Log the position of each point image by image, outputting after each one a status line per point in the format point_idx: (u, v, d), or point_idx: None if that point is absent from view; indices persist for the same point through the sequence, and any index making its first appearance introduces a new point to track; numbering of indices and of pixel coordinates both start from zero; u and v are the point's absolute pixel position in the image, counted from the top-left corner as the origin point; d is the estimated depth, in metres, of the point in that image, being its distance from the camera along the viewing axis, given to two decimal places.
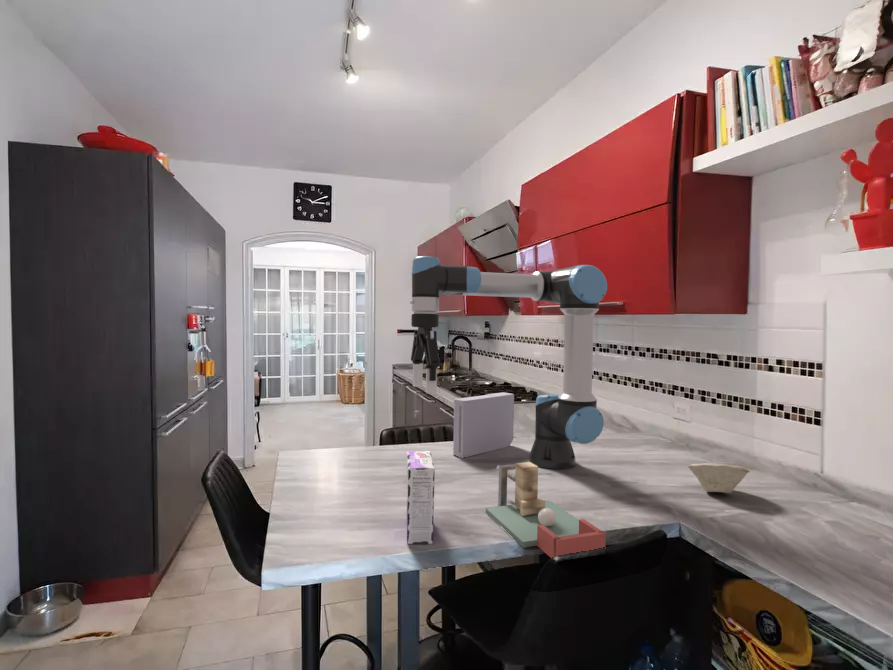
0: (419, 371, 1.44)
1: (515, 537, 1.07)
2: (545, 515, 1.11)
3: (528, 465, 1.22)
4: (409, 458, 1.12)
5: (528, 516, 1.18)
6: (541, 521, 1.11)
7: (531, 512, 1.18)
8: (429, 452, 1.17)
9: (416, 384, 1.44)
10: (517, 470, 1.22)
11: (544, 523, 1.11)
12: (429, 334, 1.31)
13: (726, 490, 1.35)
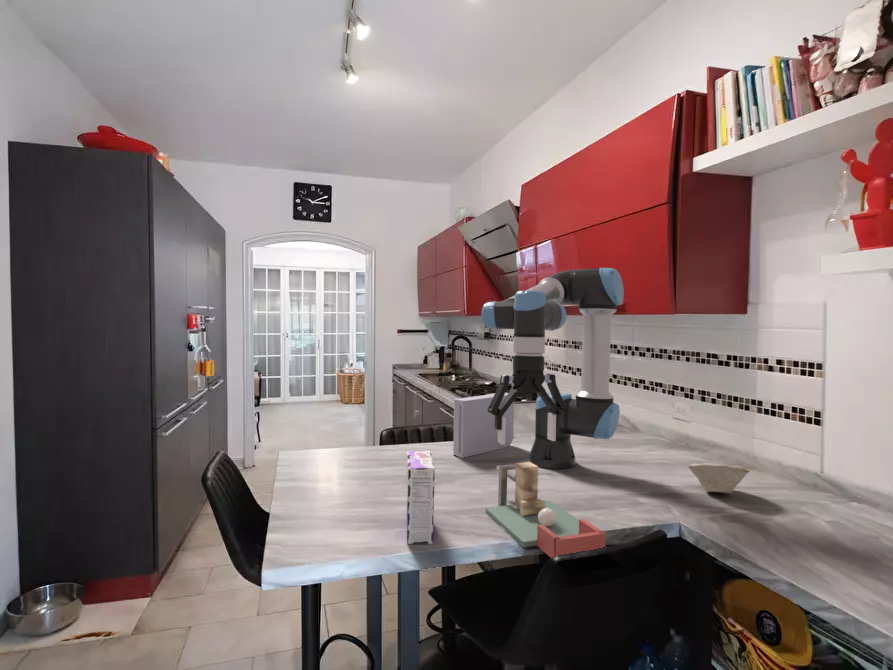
0: (551, 422, 1.23)
1: (515, 537, 1.07)
2: (545, 515, 1.11)
3: (528, 465, 1.22)
4: (409, 458, 1.12)
5: (528, 516, 1.18)
6: (541, 521, 1.11)
7: (531, 512, 1.18)
8: (429, 452, 1.17)
9: (549, 437, 1.24)
10: (517, 470, 1.22)
11: (544, 523, 1.11)
12: (501, 378, 1.19)
13: (726, 490, 1.35)
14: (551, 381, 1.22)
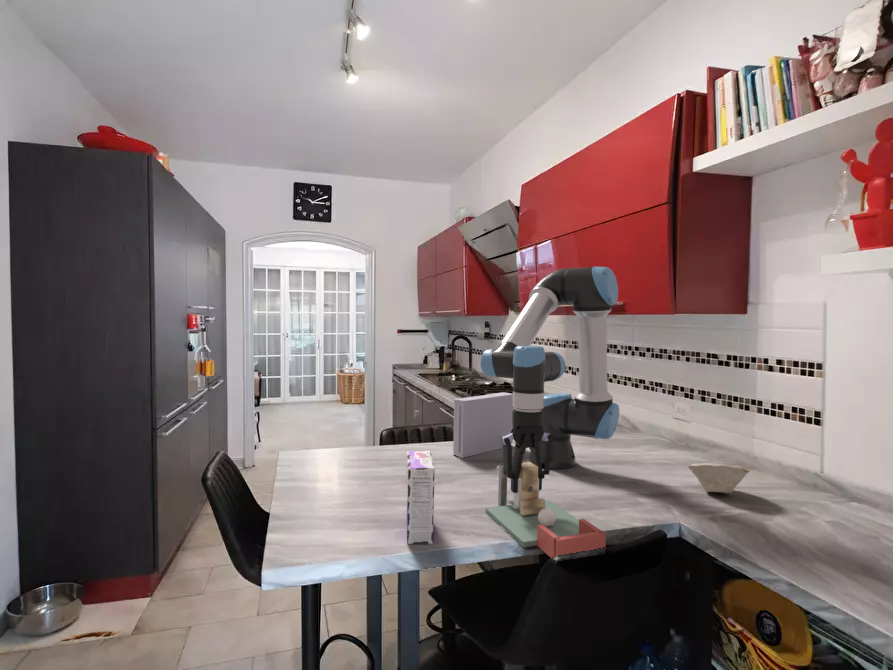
0: None
1: (515, 537, 1.07)
2: (545, 515, 1.11)
3: (528, 465, 1.22)
4: (409, 458, 1.12)
5: (528, 516, 1.18)
6: (541, 521, 1.11)
7: (531, 512, 1.18)
8: (429, 452, 1.17)
9: None
10: None
11: (544, 523, 1.11)
12: (502, 440, 1.20)
13: (726, 490, 1.35)
14: (548, 440, 1.22)
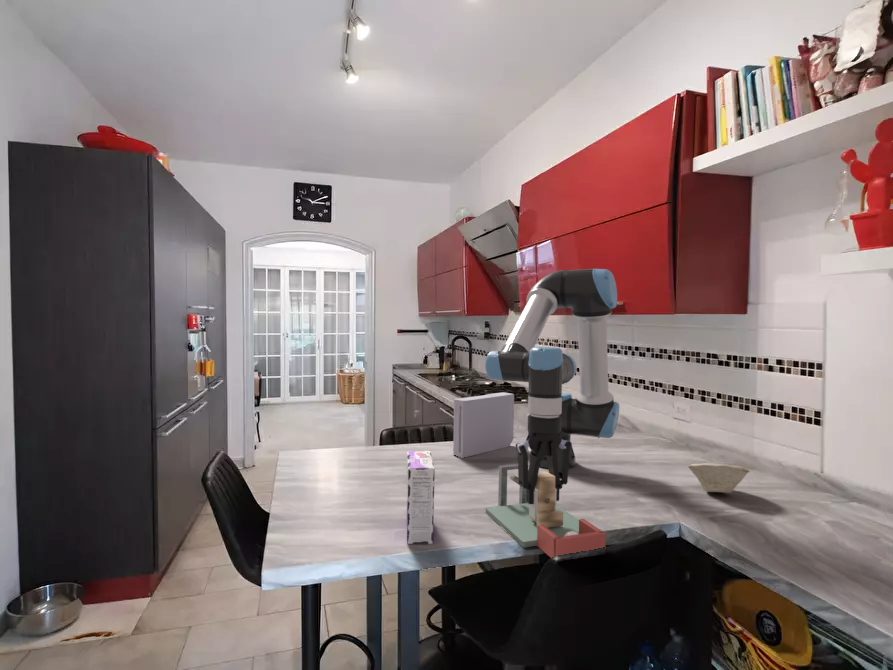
0: None
1: (515, 537, 1.07)
2: (565, 534, 1.03)
3: (544, 474, 1.14)
4: (409, 458, 1.12)
5: (528, 516, 1.18)
6: None
7: (548, 525, 1.10)
8: (429, 452, 1.17)
9: None
10: None
11: None
12: (517, 448, 1.13)
13: (726, 490, 1.35)
14: (565, 448, 1.14)
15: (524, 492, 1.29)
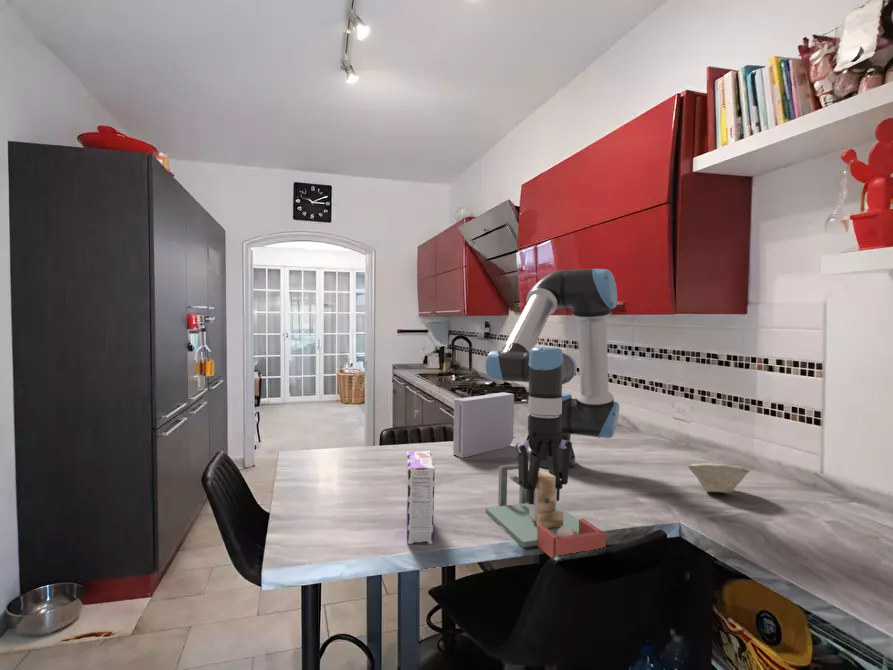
0: None
1: (515, 537, 1.07)
2: None
3: (544, 474, 1.14)
4: (409, 458, 1.12)
5: (528, 516, 1.18)
6: (557, 533, 1.05)
7: (548, 525, 1.10)
8: (429, 452, 1.17)
9: None
10: None
11: (558, 530, 1.05)
12: (517, 448, 1.12)
13: (726, 490, 1.35)
14: (566, 448, 1.14)
15: (524, 492, 1.29)
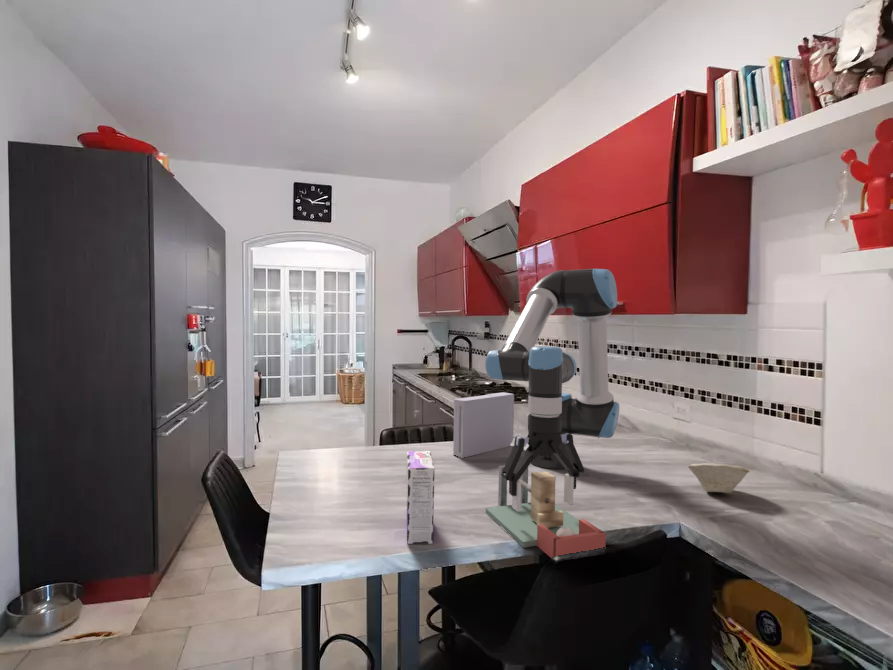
0: (568, 485, 1.16)
1: (515, 537, 1.07)
2: None
3: (544, 474, 1.14)
4: (409, 458, 1.12)
5: (528, 516, 1.18)
6: (557, 533, 1.05)
7: (548, 525, 1.10)
8: (429, 452, 1.17)
9: (566, 500, 1.17)
10: (533, 480, 1.14)
11: (558, 530, 1.05)
12: (515, 440, 1.12)
13: (726, 490, 1.35)
14: (568, 442, 1.15)
15: (524, 492, 1.29)
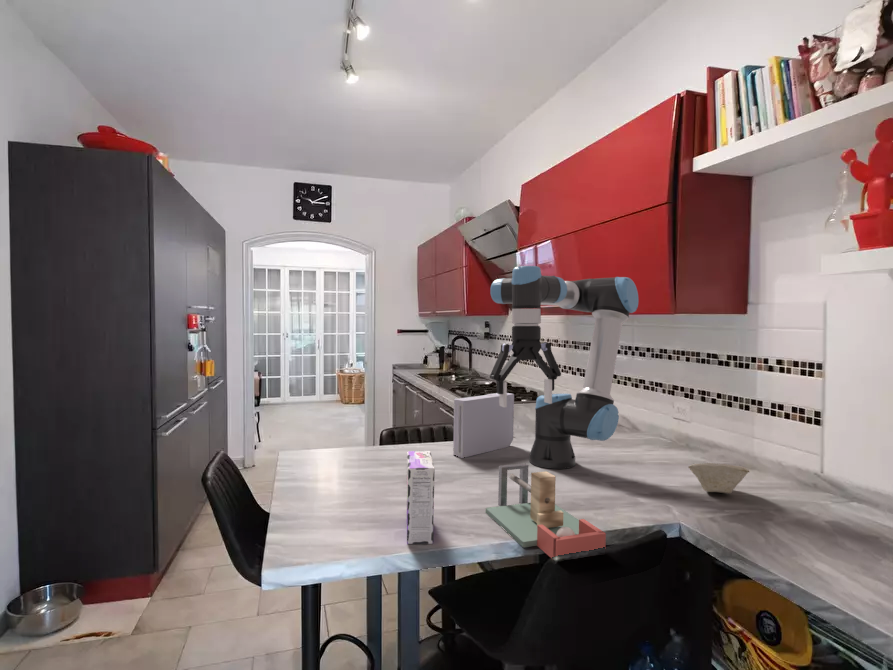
0: (547, 387, 1.34)
1: (515, 537, 1.07)
2: None
3: (544, 474, 1.14)
4: (409, 458, 1.12)
5: (528, 516, 1.18)
6: (557, 533, 1.05)
7: (548, 525, 1.10)
8: (429, 452, 1.17)
9: (545, 400, 1.35)
10: (533, 480, 1.14)
11: (558, 530, 1.05)
12: (501, 347, 1.30)
13: (726, 490, 1.35)
14: (547, 349, 1.33)
15: (524, 492, 1.29)
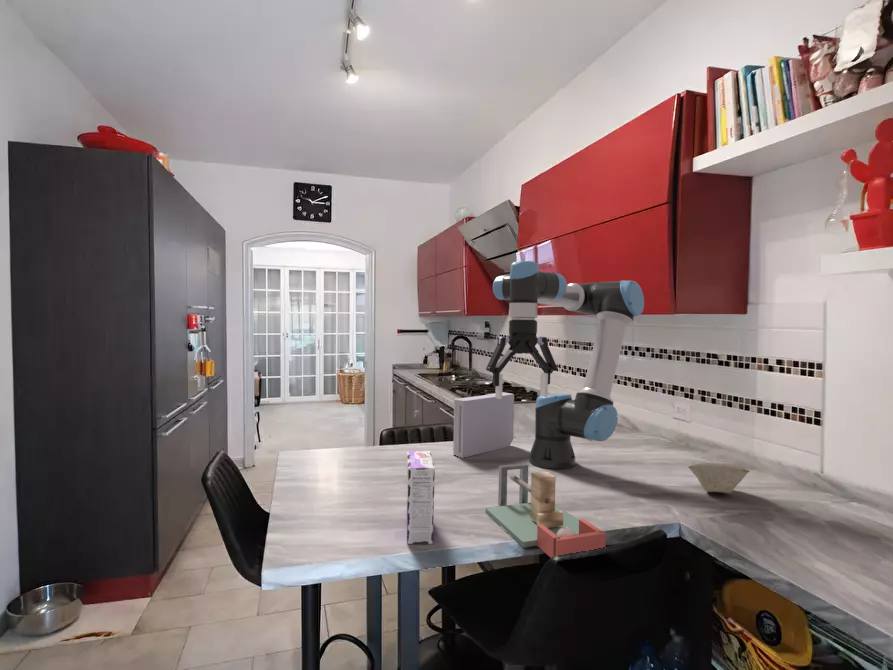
0: (543, 380, 1.37)
1: (515, 537, 1.07)
2: None
3: (544, 474, 1.14)
4: (409, 458, 1.12)
5: (528, 516, 1.18)
6: (558, 533, 1.05)
7: (548, 525, 1.10)
8: (429, 452, 1.17)
9: (541, 394, 1.38)
10: (533, 480, 1.14)
11: (559, 530, 1.05)
12: (498, 340, 1.33)
13: (726, 490, 1.35)
14: (543, 343, 1.35)
15: (524, 492, 1.29)
